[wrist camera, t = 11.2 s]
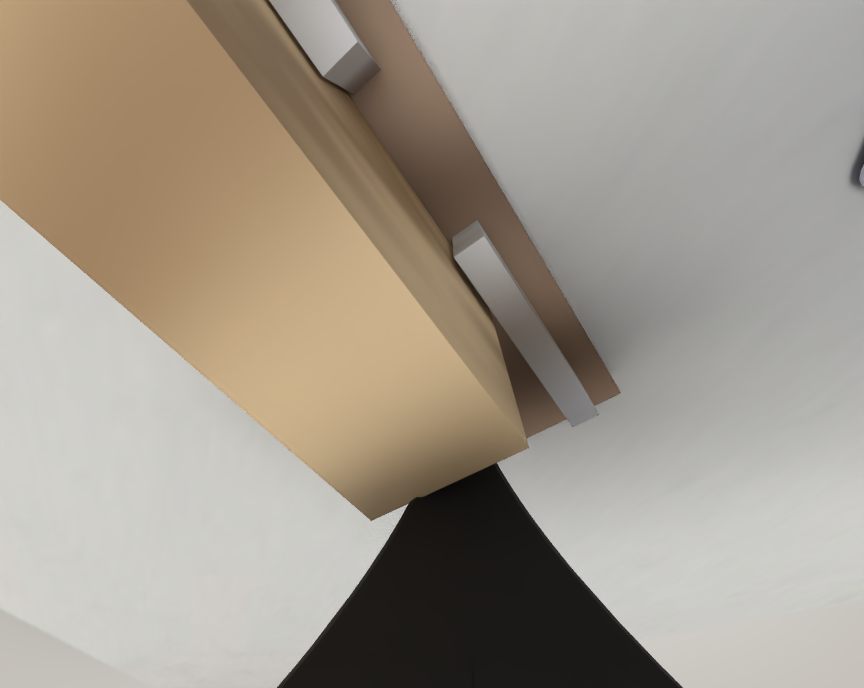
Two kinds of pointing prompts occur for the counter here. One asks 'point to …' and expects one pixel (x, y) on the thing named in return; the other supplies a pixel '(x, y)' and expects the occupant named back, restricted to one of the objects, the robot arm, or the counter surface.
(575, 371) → the board
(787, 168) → the counter surface
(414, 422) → the oak slat
